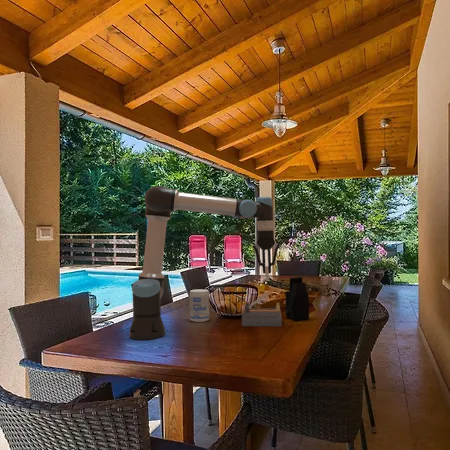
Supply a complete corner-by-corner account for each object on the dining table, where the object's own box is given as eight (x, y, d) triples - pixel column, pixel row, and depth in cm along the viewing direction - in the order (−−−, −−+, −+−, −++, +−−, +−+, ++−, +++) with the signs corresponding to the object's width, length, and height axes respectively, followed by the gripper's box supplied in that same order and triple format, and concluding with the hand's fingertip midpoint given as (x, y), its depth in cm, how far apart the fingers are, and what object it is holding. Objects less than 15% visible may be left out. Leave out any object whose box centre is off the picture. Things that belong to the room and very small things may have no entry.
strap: (246, 310, 198) (245, 308, 198) (247, 309, 201) (245, 307, 201) (273, 291, 196) (272, 289, 196) (273, 290, 200) (272, 288, 200)
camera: (298, 314, 216) (297, 275, 216) (311, 319, 203) (310, 278, 204) (280, 316, 213) (279, 276, 213) (293, 321, 200) (292, 279, 200)
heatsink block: (242, 326, 194) (241, 306, 194) (244, 320, 206) (243, 301, 206) (281, 326, 191) (281, 306, 191) (281, 320, 203) (281, 301, 203)
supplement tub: (193, 323, 202) (192, 292, 202) (187, 319, 211) (186, 290, 211) (212, 321, 206) (211, 290, 206) (205, 317, 215) (204, 288, 215)
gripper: (251, 230, 196) (252, 281, 195) (279, 229, 194) (281, 281, 194) (252, 230, 203) (253, 279, 203) (279, 229, 201) (281, 279, 201)
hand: (267, 280), depth 198 cm, fingers closed
